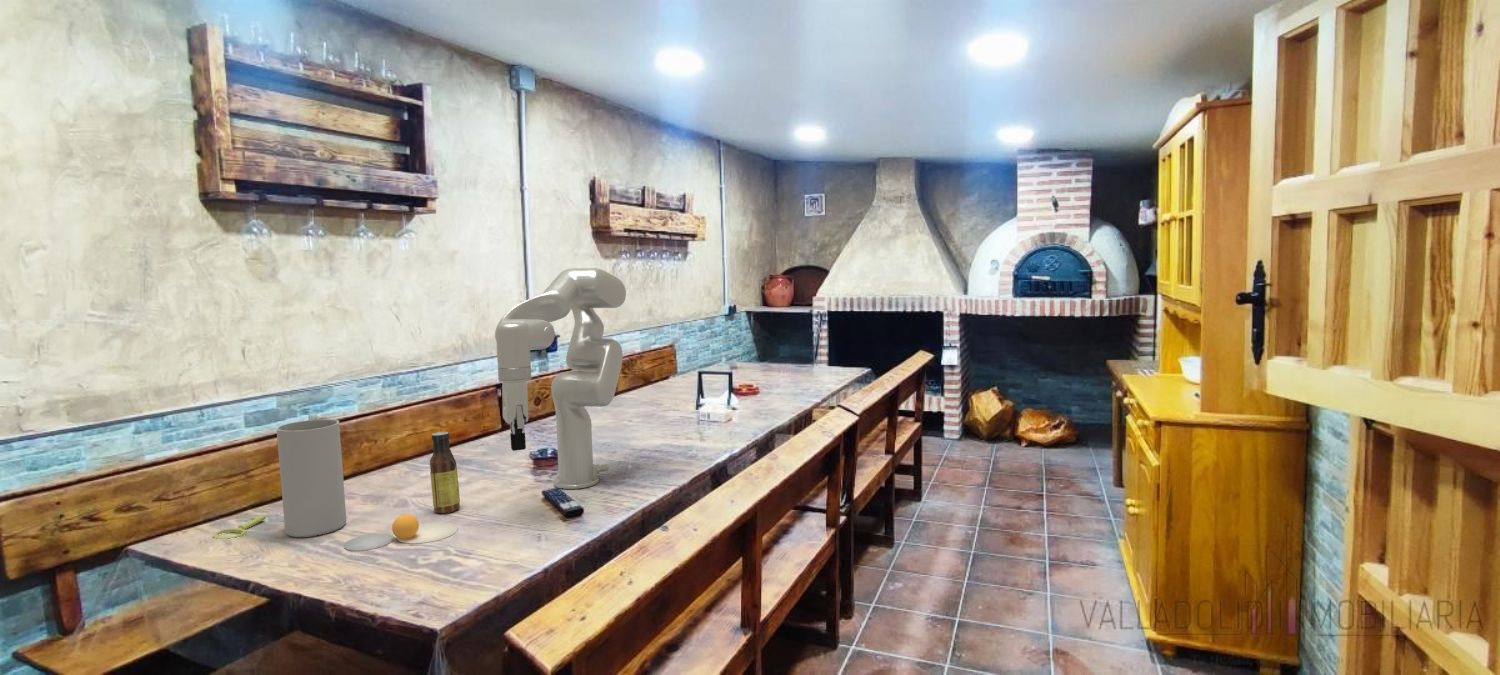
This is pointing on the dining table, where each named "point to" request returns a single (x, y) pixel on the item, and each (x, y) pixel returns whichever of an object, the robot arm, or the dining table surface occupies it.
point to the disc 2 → (431, 532)
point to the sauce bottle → (444, 475)
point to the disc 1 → (368, 542)
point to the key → (240, 528)
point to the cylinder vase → (311, 477)
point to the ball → (405, 526)
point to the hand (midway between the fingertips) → (518, 449)
